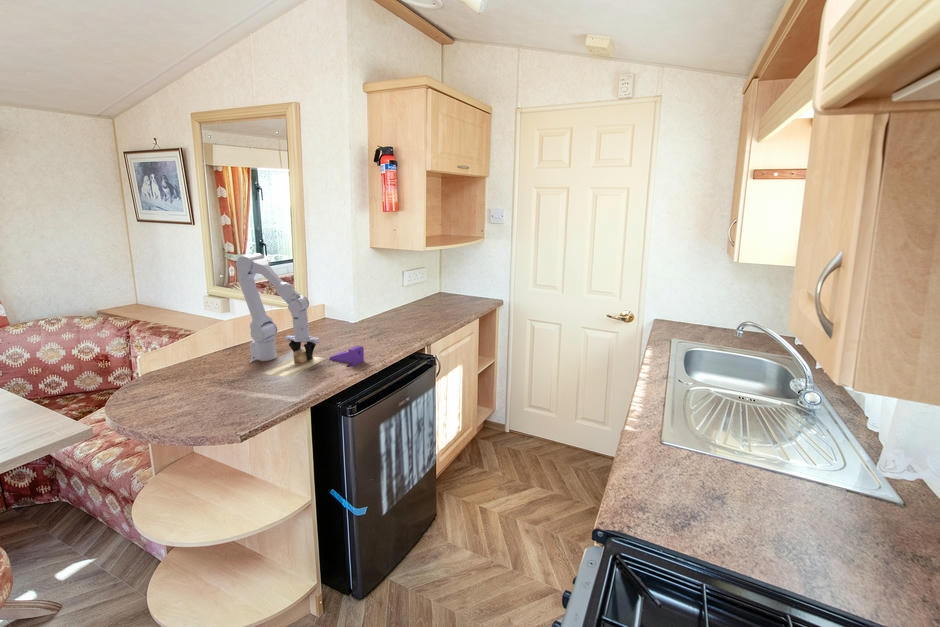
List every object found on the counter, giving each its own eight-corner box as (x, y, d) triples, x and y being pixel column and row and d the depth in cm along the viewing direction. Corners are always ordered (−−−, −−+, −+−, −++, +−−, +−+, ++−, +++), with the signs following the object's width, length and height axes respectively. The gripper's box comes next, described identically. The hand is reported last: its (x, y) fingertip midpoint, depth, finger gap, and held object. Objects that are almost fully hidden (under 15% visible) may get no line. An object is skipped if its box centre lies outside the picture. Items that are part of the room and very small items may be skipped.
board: (261, 376, 182) (261, 373, 182) (297, 357, 202) (297, 355, 202) (293, 380, 178) (293, 377, 178) (326, 360, 199) (326, 357, 198)
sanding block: (294, 363, 193) (293, 352, 192) (304, 357, 199) (303, 347, 198) (302, 364, 192) (301, 353, 190) (313, 358, 198) (312, 347, 197)
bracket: (363, 361, 198) (363, 345, 196) (352, 366, 192) (352, 350, 190) (340, 355, 203) (340, 340, 201) (329, 360, 197) (329, 344, 195)
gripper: (278, 328, 190) (282, 360, 194) (310, 330, 186) (313, 363, 190) (290, 323, 197) (293, 355, 200) (321, 326, 193) (324, 358, 196)
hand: (304, 359), depth 195 cm, fingers open, 5 cm apart
